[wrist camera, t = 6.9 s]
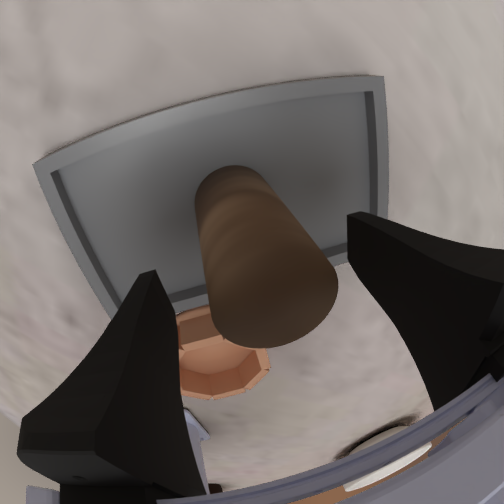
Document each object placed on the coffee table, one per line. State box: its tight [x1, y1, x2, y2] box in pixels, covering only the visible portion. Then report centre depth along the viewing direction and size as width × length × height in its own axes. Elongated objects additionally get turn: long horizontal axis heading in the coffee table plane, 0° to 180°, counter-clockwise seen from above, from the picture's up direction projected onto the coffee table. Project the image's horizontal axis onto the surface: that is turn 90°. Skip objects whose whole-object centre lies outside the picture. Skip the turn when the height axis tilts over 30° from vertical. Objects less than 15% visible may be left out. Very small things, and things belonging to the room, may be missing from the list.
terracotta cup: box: [176, 305, 271, 400], centre depth 21 cm, size 8×8×2 cm
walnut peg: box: [195, 165, 338, 349], centre depth 12 cm, size 4×4×8 cm
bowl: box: [343, 426, 432, 491], centre depth 46 cm, size 20×20×8 cm
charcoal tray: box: [32, 75, 389, 320], centre depth 15 cm, size 18×11×2 cm, turn 101°
